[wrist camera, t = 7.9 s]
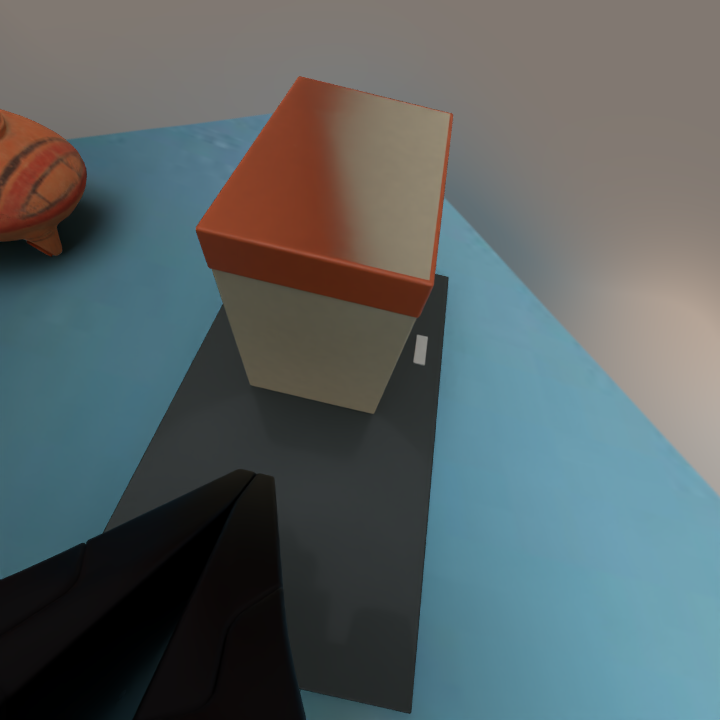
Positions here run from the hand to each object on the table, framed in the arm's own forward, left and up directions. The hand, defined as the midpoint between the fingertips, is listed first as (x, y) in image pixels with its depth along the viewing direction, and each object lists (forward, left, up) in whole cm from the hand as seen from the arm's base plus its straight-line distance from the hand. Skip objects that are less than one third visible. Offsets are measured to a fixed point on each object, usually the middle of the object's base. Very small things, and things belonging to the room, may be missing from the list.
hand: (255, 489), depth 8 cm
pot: (+16, +14, -7) cm, 23 cm away
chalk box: (+9, -3, -7) cm, 12 cm away
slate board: (+5, -2, -7) cm, 9 cm away
